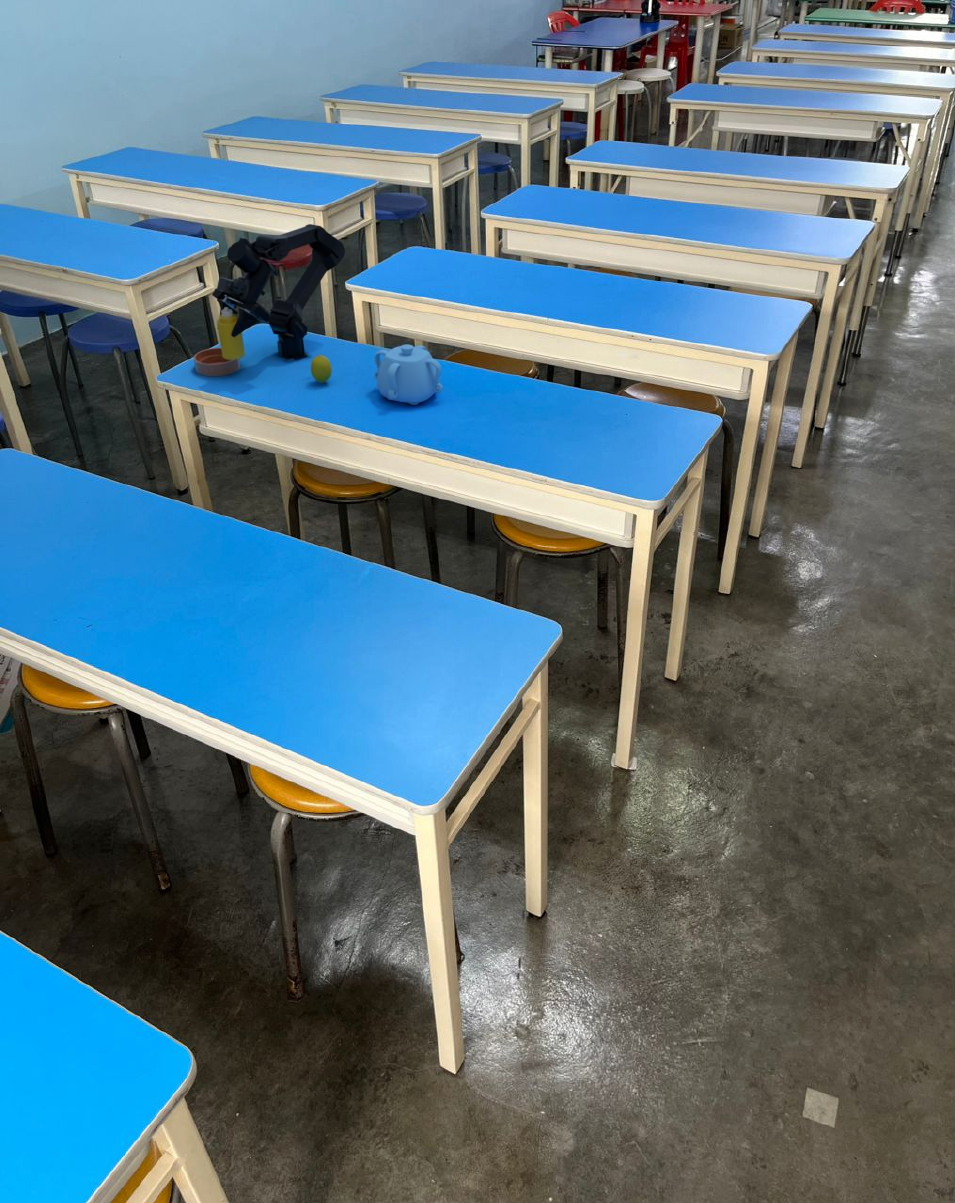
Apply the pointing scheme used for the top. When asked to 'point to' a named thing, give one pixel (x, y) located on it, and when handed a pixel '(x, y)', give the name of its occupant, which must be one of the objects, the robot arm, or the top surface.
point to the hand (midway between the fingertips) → (225, 333)
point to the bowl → (214, 363)
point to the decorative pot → (407, 374)
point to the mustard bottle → (229, 336)
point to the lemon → (321, 368)
